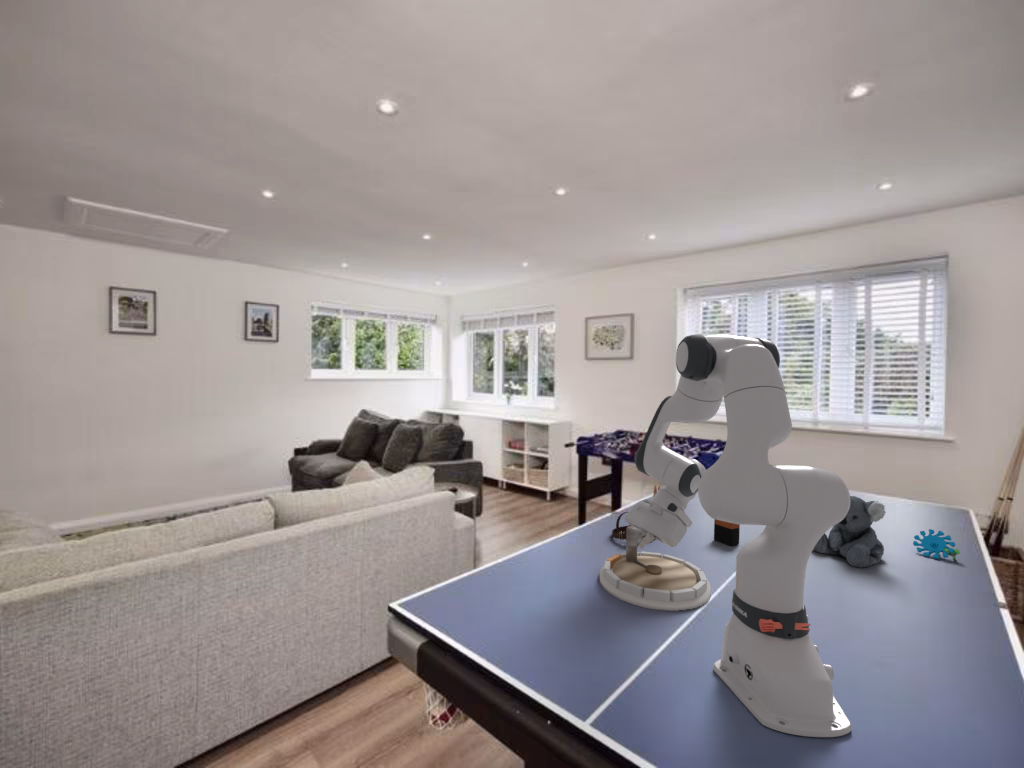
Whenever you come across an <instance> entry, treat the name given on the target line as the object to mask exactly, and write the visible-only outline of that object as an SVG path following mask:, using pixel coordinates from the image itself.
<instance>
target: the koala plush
mask: <svg viewBox="0 0 1024 768" xmlns="http://www.w3.org/2000/svg"><path fill="white" fill-rule="evenodd" d="M885 506H886V505H884V504H883V503H881V502H879V500H869V501H865V500H863V498H860V497H858V496H855V495H850V508H849V511H848V513H847V515H846V516H845V518H844V519H843V520H842V521H841V522H839V523H837V524H836V525H834V526H833V527H831V528H830V531H829V534H828V535H827V534H826V533H825V534H824V535H823V536H822V537H821V538H820V539H819V541H818V542H817V544H816V545H815V547H814V549H813V551H815V552H816V553H818V554H822V555H823V554H824V555H831V556H832V555H833V556H834V555H836V556H837V555H841V556H842V557H844V558H846V561H847V563H848V564H849V565H850V566H852V567H854V568H855V567H856V568H860V569H861V568H867V567H870V566H872V565H878V564H879V562H880V561H881V559H883V558H882V557H883V556H884V552H885V547H884V545H883V543H882V541H880V540H879V538H878V535H877V534H876V531H875V529H874V528H872V524H873V523H874V522H875V523H876V522H880V521H881V520H883V519H884V517H885V515H886V513H887V512H886V507H885Z"/></svg>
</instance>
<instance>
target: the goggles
mask: <svg viewBox="0 0 1024 768" xmlns="http://www.w3.org/2000/svg"><path fill="white" fill-rule="evenodd" d="M627 513H628V511H626V512H622V513H621V514H619V516H618V517H617V519H616V522H615V528H613V529H612V531H611V535H612V538H614V539H618V540H620V541H625V540H626V538H627V527H629V526H631V525H630V524H628V525H625V526H624V525H623V526H620V520H621V517H622V516H623V515H626V514H627ZM621 531H625V532H621ZM645 536H646V535H645ZM645 536H642V539H643V538H644V537H645ZM654 540H655V538H654ZM654 540H653V541H652V542H651V543H653V542H654Z"/></svg>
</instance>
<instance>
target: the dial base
mask: <svg viewBox="0 0 1024 768" xmlns="http://www.w3.org/2000/svg"><path fill="white" fill-rule="evenodd" d="M637 556H651V557H658V558H664V559H668V560H671V561H674V562H677V563H680V564H682V565H684V566H686V567H687V568H689V569H690V570H692V571H693V572H694V574H695V575H696V585H694V586H693V587H692V588H687V589H680V590H672V591H667V590H659V589H651V588H644V593H643V587H640V586H638V585H635V584H632V583H629V582H626V581H624V580H621V579H620V578H619V577H618V576H616V575H615V574H614V573H613V566H614V564H615V562H617V561H618V560H620V559H623V558H626V552H620V553H616V554H613V556H611V557H608V558H606V560H605V561H604V565H603V566H602V567H601V568H600V570H599V583H600V585H601V586H602V588H603V589H604V590H605V591H606V592H607V593H608V594H610V595H611V596H613V597H615V598H616V599H619V600H620V601H621V602H622V601H623V602H626V603H628V604H630V605H634V606H635V607H637V606H638V607H641V608H644V609H650V610H657V611H664V612H665V611H666V612H667V611H668V612H680V611H679V610H683V611H688V610H687V609H690V610H694V609H693V608H695V609H697V607H698V608H700V607H702V606H704V605H706V604H707V603H708V602H709V601H710V600H711V597H712V586H711V583H710V582H709V581H708V579H707V577H706V574H705V572H704V571H703V570H702V568H700V567H698V566H697V565H695V564H693V563H692V562H690V561H688V560H685V559H683V558H680V557H676V556H673V555H670V554H666V553H664V554H663V553H661V552H649V551H640V552H639V550H637ZM708 600H709V601H708ZM706 602H707V603H706ZM705 603H706V604H705ZM703 604H704V605H703ZM699 606H700V607H699Z"/></svg>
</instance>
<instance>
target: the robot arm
mask: <svg viewBox="0 0 1024 768" xmlns="http://www.w3.org/2000/svg"><path fill="white" fill-rule="evenodd" d="M780 362H781V356H780V351H779V350H778V348H777V346H776V344H775V343H774V342H772V341H770V340H768V339H763V338H760V337H753V338H752V337H748V336H741V335H740V336H739V335H731V334H704V335H703V334H701V333H698V334H690V335H686V336H684V338H682V340H681V341H680V342H679V344H678V346H677V349H676V352H675V366H676V369H677V372H678V373H679V374H680V377H679V380H678V384H677V387H676V390H675V392H674V393H673V394H672V395H668V396H666V397H665V398H664V399H663V400H662V401H661V402H660V404H659V405H658V407H657V409H656V411H655V412H654V415H653V417H652V419H651V422H650V423H649V426H648V428H647V431H646V432H645V435H644V438H643V440H642V442H641V443H640V445H639V446H638V448H637V449H636V451H635V453H634V464H635V467H636V469H637V471H638V472H640V473H642V474H644V475H647V476H648V477H651V478H653V479H654V480H656V481H657V482H659V483H661V484H662V486H661V487H660V489H659V490H658V489H657V493H656V494H655V495H654V497H653V496H652V498H651V500H649V499H642V500H639V501H638V502H637V503H636V504H634V505H633V506H632V507H631V508H630V509H629V510H628V511H627V512H628V513H625V514H624V520H625V522H627V524H628V525H631V526H633V527H637V528H638V542H637V548H640V549H641V550H642V549H644V547H646V545H648V544H650V543H653V542H654V540H655V539H656V540H658V541H659V542H661V543H663V544H664V545H666V546H669V547H670V548H674V547H676V546H678V545H679V543H681V541H682V540H683V538H684V537H685V535H686V534H687V530H688V528H690V527H691V526H692V525H693V521H692V520H691V518H690V517H689V516H688V515H687V513H686V512H685V510H686V509H687V506H688V504H689V503H690V501H692V500H693V499H695V497H696V495H698V500H699V503H700V505H701V507H702V509H703V511H705V513H706V514H707V515H708V516H709V517H710V518H711V519H713V520H714V519H716V520H720V521H724V522H729V523H734V524H739V525H742V526H743V525H744V526H745V525H746V526H747V525H750V526H764V529H763V530H762V531H761V532H760V533H759V535H758V536H756V537H754V538H753V539H751V540H750V541H747V542H745V543H744V544H743V545H742V546H741V547H740V548H739V550H737V551H738V552H737V554H736V557H735V558H736V561H735V563H736V564H735V566H736V567H735V586H734V587H735V588H734V589H733V591H732V596H731V605H732V606H731V609H732V615H731V617H730V619H729V620H728V622H726V624H725V625H724V628H723V635H722V636H723V637H722V645H721V656H720V658H719V659H718V660H716V661H715V662H714V663H713V669H712V670H714V672H715V673H716V675H718V677H719V678H720V679H721V680H722V681H723V682H724V683H725V684H726V685H727V687H728V688H729V689H730V690H731V691H732V693H734V695H735V696H736V697H737V698H738V699H739V700H740V701H741V703H743V705H744V706H745V707H746V709H748V711H749V712H750V713H751V715H753V716H754V717H755V718H756V719H757V721H758V722H759V723H760V724H762V725H763V726H764V727H767V728H769V729H771V730H775V731H776V732H777V731H778V732H780V733H784V734H790V735H794V736H800V737H810V738H811V737H812V738H835V737H836V738H837V737H842V736H845V735H848V734H849V733H850V732H851V731H852V725H851V724H852V723H851V721H850V720H849V718H848V716H847V715H846V714H845V712H844V710H843V709H842V707H841V705H840V704H839V702H838V701H837V699H836V697H835V696H834V691H833V683H832V680H834V677H835V676H834V675H835V673H834V669H833V667H832V665H830V664H828V663H823V661H822V659H821V657H820V654H819V652H820V649H819V647H818V645H816V644H814V642H813V640H812V638H811V636H810V634H809V633H810V630H811V629H810V626H811V623H809V616H808V613H807V609H806V605H805V604H804V596H805V595H804V591H805V579H806V570H807V566H808V561H809V560H810V557H811V554H812V552H813V551H814V547H815V545H816V544H817V542H818V541H819V539H820V538H821V537H822V536H823V535H824V534H826V533H827V532H828V531H829V530H831V529H832V528H833V526H834V525H836V524H837V523H839V522H841V521H842V520H843V519H844V518H845V516H846V515H847V513H848V511H849V508H850V496H851V495H850V491H849V488H848V486H847V484H846V483H845V482H844V480H843V479H842V478H841V477H840V476H839V474H837V473H836V472H834V471H831V470H828V469H823V468H820V467H814V466H809V465H796V464H795V465H793V464H791V465H789V464H788V465H786V464H771V463H770V462H769V451H770V449H772V448H775V447H777V446H778V445H780V444H781V443H783V442H784V441H786V440H787V439H788V438H789V436H790V434H791V432H792V428H793V424H792V423H793V422H792V418H791V415H790V414H791V413H790V408H789V405H788V400H787V394H786V390H785V385H784V381H783V378H782V375H781V372H780V369H779V368H780V365H781V363H780ZM723 400H724V401H723ZM722 401H723V402H724V409H725V416H726V428H727V430H726V431H727V433H726V434H727V435H726V442H725V446H724V449H723V451H722V453H721V454H720V456H719V457H718V459H717V460H716V461H715V462H714V463H713V464H712V465H711V466H710V467H708V468H705V466H704V464H702V462H700V461H699V460H697V459H694V458H692V457H686V456H684V455H682V454H679V453H678V452H676V451H674V450H673V449H671V448H668V446H666V445H665V444H664V442H663V440H664V438H665V436H666V434H667V432H668V430H669V428H670V425H671V423H682V424H700V423H704V422H707V421H709V420H711V419H712V418H713V417H714V416H716V414H717V413H718V412H719V410H720V407H721V404H722ZM645 535H646V536H645ZM642 536H645V537H644V538H643V539H642ZM654 538H655V539H654ZM652 541H653V542H652Z"/></svg>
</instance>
